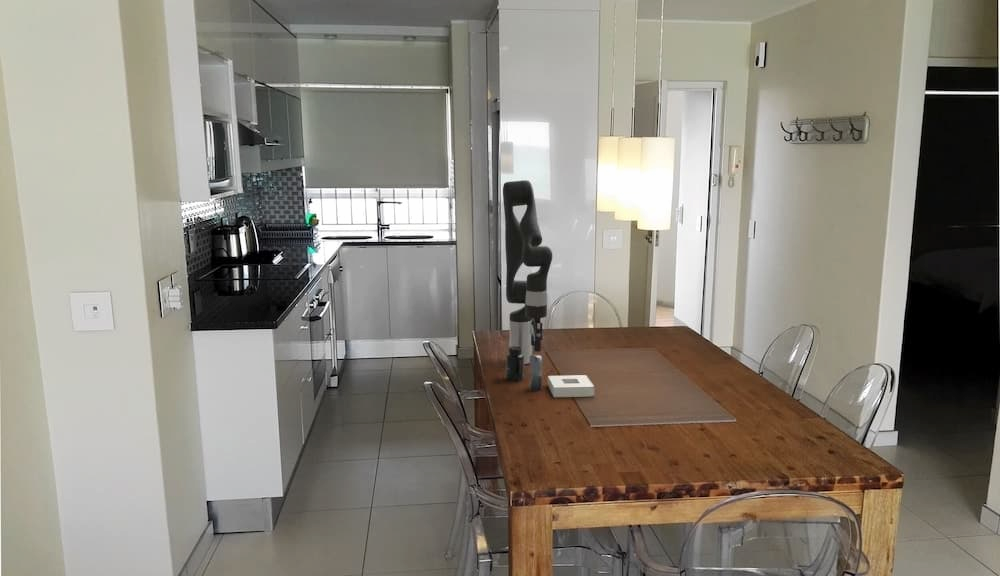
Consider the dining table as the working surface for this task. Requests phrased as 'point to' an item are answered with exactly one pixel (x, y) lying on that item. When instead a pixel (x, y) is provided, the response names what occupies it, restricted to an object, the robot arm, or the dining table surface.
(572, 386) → the socket block
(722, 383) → the dining table surface
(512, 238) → the robot arm
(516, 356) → the supplement bottle
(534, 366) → the graphite peg
